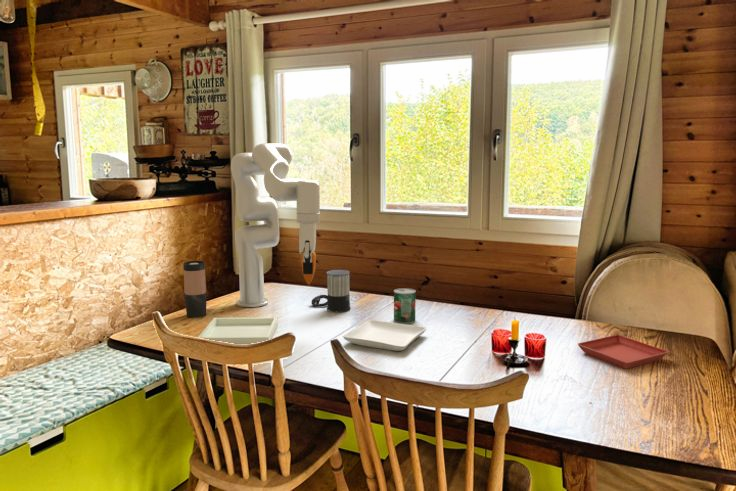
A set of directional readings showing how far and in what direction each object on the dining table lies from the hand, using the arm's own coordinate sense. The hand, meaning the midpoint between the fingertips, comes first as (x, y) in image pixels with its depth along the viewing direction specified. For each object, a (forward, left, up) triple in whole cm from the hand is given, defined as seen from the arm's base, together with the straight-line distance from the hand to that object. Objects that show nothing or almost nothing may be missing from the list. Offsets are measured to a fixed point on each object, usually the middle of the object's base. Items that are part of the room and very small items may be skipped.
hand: (308, 271), depth 191 cm
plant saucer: (+27, +94, -21) cm, 100 cm away
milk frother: (-30, +6, -21) cm, 37 cm away
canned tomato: (-12, +33, -21) cm, 41 cm away
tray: (+4, -23, -21) cm, 31 cm away
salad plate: (+10, +25, -21) cm, 35 cm away
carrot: (0, 0, -5) cm, 5 cm away
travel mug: (-21, -44, -21) cm, 53 cm away
